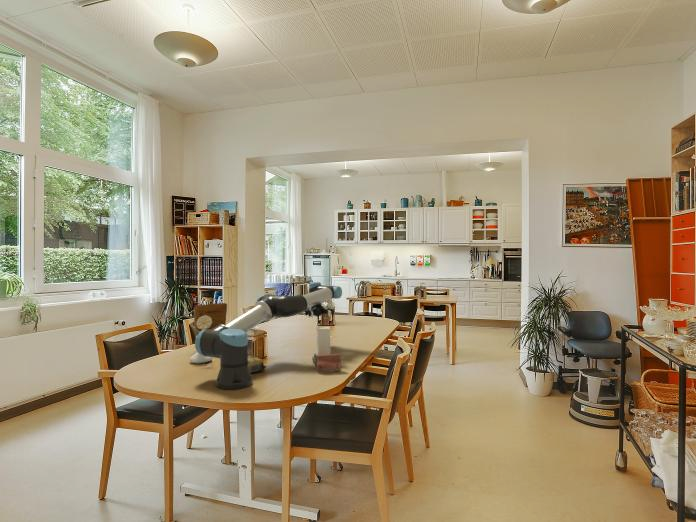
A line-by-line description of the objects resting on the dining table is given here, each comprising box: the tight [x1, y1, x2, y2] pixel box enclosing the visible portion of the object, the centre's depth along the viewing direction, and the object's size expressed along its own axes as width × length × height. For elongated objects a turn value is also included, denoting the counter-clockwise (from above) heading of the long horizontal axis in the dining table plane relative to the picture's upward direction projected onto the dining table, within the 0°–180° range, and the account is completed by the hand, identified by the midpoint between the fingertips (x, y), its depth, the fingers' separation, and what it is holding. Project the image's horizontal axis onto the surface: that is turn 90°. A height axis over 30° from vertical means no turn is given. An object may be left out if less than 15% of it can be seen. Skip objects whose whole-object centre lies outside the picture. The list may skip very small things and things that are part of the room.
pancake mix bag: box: [193, 302, 228, 337], centre depth 245 cm, size 7×19×28 cm, turn 111°
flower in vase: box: [189, 315, 213, 364], centre depth 216 cm, size 13×11×25 cm
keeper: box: [316, 326, 331, 355], centre depth 213 cm, size 6×6×16 cm
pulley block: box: [248, 355, 267, 373], centre depth 205 cm, size 14×6×30 cm
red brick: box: [311, 352, 341, 373], centre depth 207 cm, size 24×11×8 cm, turn 11°
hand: (321, 314), depth 221 cm, fingers open, 9 cm apart
